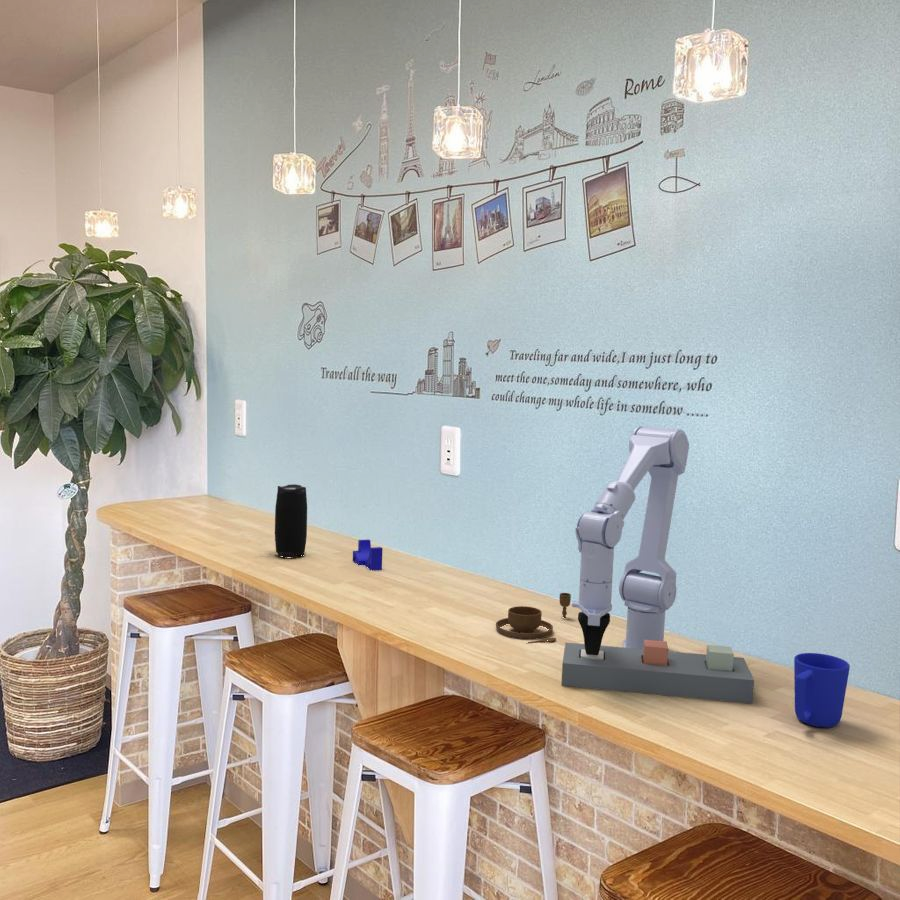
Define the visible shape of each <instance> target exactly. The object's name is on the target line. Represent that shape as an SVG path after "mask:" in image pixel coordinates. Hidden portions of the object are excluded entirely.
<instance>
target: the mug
mask: <svg viewBox="0 0 900 900" xmlns="http://www.w3.org/2000/svg"><path fill="white" fill-rule="evenodd" d="M793 659H794V660H793V663H794V664H793V665H794V666H793V667H794V668H793V670H794V671H793V672H794V673H793V676H794V677H793V678H794V679H793V681H794V685H793V686H794V713H795V717H796V718H797V719H798V720H799V721H801V722H802V723H805V724H807V725H810V726H813V727H817V728H832V727H836V726H837V725H838V724H839V723H840V722H841V719H842V715H843V709H844V704H845V700H846V699H845V697H846V692H847V686H848V681H849V675H850V668H851V665H850V663H849V662H847V661H846V660H845V659H842V658H840V657H838V656H835V655H829V654H825V653H817V652H816V653H815V652H805V653H804V652H803V653H799V654H796V655H795V656H794V658H793Z"/></svg>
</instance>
